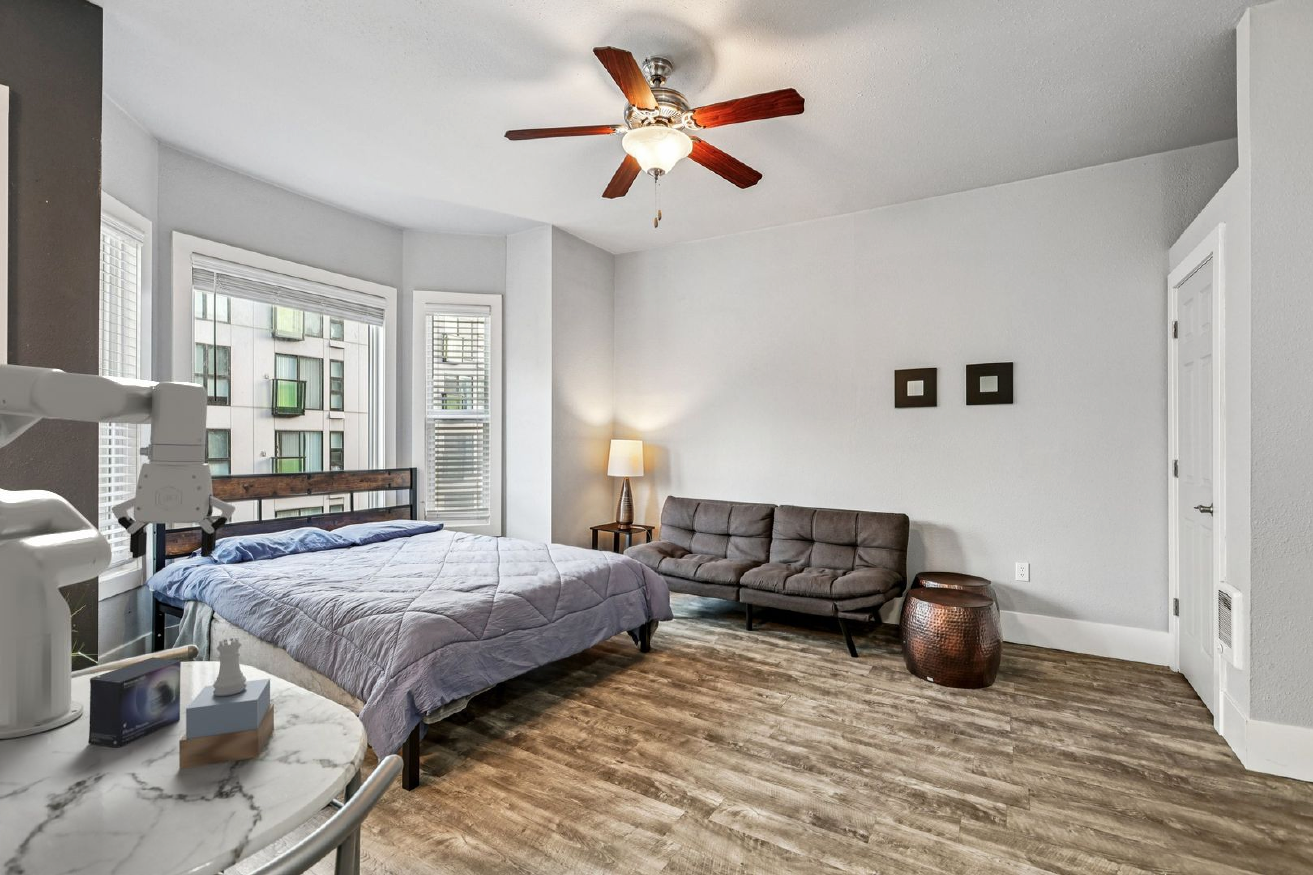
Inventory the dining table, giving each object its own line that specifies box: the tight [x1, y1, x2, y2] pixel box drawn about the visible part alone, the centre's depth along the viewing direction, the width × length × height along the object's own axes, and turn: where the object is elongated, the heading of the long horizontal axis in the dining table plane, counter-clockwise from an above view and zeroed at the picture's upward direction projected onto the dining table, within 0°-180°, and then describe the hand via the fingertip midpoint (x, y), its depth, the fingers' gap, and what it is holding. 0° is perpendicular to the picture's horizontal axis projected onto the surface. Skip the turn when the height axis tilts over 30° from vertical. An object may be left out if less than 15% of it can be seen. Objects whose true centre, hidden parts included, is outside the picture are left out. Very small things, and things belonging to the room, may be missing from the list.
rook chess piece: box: [213, 637, 247, 697], centre depth 99 cm, size 4×4×8 cm
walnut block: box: [178, 703, 275, 770], centre depth 99 cm, size 10×10×4 cm
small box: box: [87, 656, 182, 748], centre depth 105 cm, size 11×6×10 cm, turn 168°
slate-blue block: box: [185, 678, 271, 739], centre depth 99 cm, size 9×9×4 cm
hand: (173, 556), depth 108 cm, fingers open, 9 cm apart
